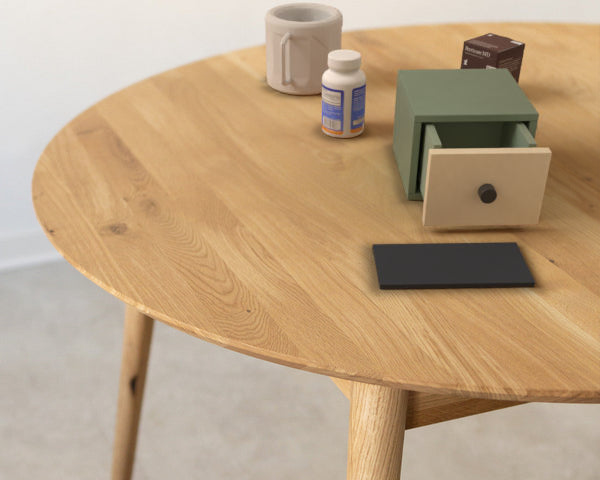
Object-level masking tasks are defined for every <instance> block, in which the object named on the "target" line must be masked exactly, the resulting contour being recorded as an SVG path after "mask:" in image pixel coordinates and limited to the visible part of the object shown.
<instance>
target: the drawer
mask: <svg viewBox="0 0 600 480" xmlns="http://www.w3.org/2000/svg"><path fill="white" fill-rule="evenodd" d="M421 123H422V124H421V135H420V146H419V157H418V167H417V181H418V184H419V187H420V190H421V193H422V197H423V200H422V201H423V205H422V216H421V222H422V225H423V227H474V226H475V227H477V226H478V227H479V226H483V227H485V226H537V225H539V221H540V217H541V216H540V215H541V211H542V206H543V200H544V197H545V191H546V185H547V181H548V180H547V179H548V175H549V170H550V165H551V160H552V156H553V152H552V150H551V149H550V147H549V146H547V147H538V142H537V141H536V140H534V138H533V137H532V135H531V134H530V132H529V130H528V129H527V127H526V126H525V124H524V123H523V121H492V122H421Z"/></svg>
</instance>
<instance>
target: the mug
mask: <svg viewBox="0 0 600 480" xmlns="http://www.w3.org/2000/svg"><path fill="white" fill-rule="evenodd" d="M343 21H344V16H343V13H342V11H341V10H339V9H338V8H336V7H333V6H332V5H327V4H323V3H315V2H293V3H285V4H280V5H277V6H274V7H272V8H270V9H269V10H267V11H266V13H265V15H264V29H265V31H264V32H265V64H266V65H265V67H266V68H265V69H266V71H265V73H266V82H267V84H268V85H269V87H271V88H272V89H273V90H275V91H277V92H280V93H283V94H288V95H294V96H295V95H296V96H311V95H312V96H313V95H319V94H322V76H323V74H324V72H325V71H326V70H328V69H330V68H329V67H328V54H329V53H330V52H332V51H335V50H341V49H342V35H343V27H344V26H343V25H344V24H343V23H344V22H343Z"/></svg>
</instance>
